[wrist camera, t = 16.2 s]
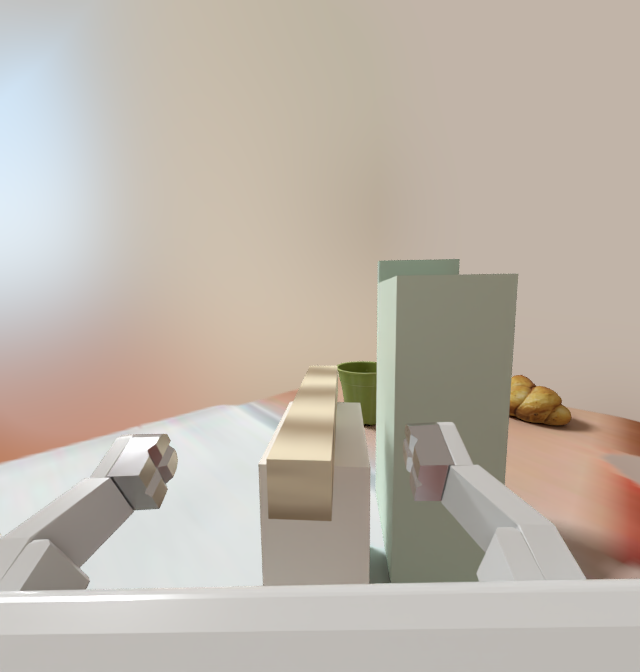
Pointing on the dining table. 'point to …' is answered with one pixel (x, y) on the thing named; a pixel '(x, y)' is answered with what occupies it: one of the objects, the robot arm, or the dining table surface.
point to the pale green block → (439, 401)
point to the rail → (305, 452)
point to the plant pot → (360, 387)
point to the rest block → (324, 536)
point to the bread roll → (536, 403)
